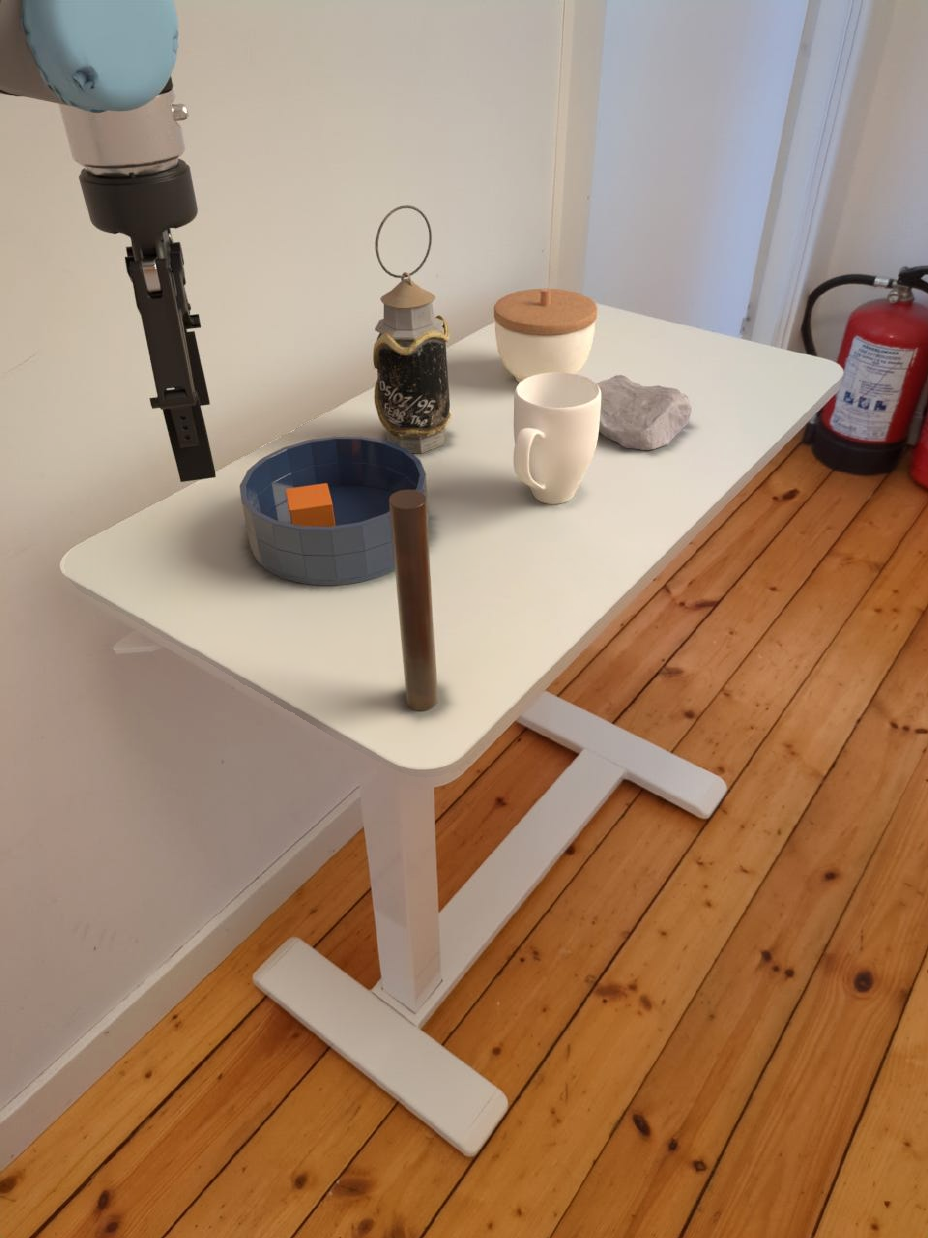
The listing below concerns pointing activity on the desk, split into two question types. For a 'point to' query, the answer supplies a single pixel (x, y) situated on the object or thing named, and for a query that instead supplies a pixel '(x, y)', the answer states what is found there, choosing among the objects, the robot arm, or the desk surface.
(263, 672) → the desk surface
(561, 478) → the mug
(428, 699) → the stick
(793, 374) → the desk surface
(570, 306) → the lidded bowl
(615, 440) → the stone block
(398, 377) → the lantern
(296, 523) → the block
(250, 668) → the desk surface
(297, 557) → the stir bowl
